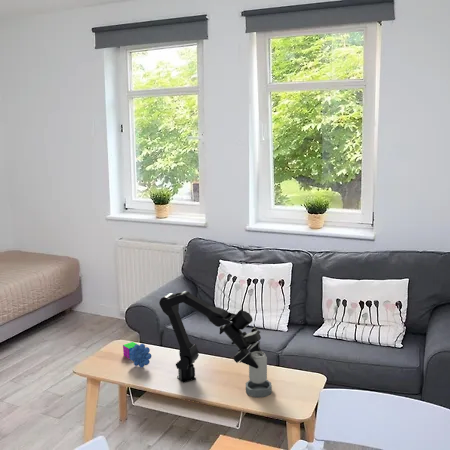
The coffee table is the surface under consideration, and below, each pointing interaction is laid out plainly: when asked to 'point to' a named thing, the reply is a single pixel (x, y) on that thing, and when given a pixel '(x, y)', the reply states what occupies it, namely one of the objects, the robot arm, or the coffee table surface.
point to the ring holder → (258, 389)
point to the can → (261, 372)
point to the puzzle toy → (128, 349)
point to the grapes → (140, 355)
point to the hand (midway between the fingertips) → (260, 363)
